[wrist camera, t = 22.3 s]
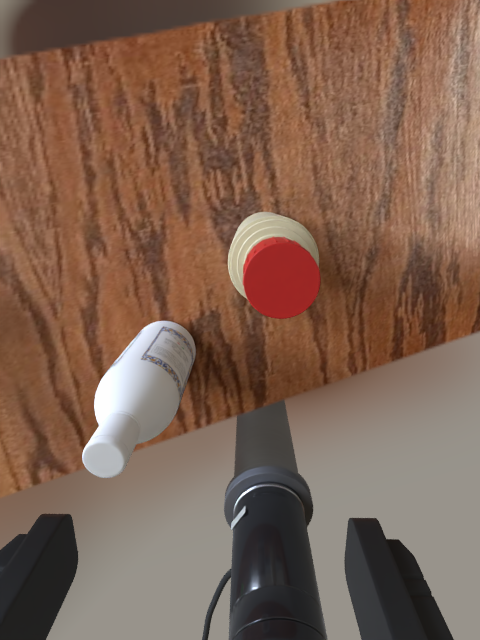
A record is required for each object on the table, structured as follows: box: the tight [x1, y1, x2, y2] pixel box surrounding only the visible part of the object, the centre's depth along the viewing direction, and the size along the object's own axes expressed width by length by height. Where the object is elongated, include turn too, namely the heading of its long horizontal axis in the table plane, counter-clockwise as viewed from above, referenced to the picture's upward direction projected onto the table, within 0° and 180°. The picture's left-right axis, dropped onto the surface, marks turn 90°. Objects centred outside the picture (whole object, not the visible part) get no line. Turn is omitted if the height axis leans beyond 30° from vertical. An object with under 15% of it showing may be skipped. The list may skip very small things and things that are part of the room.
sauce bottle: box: [228, 212, 319, 299], centre depth 31 cm, size 6×6×20 cm
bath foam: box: [82, 321, 196, 478], centre depth 34 cm, size 7×7×20 cm
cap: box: [243, 236, 320, 319], centre depth 22 cm, size 4×4×4 cm
